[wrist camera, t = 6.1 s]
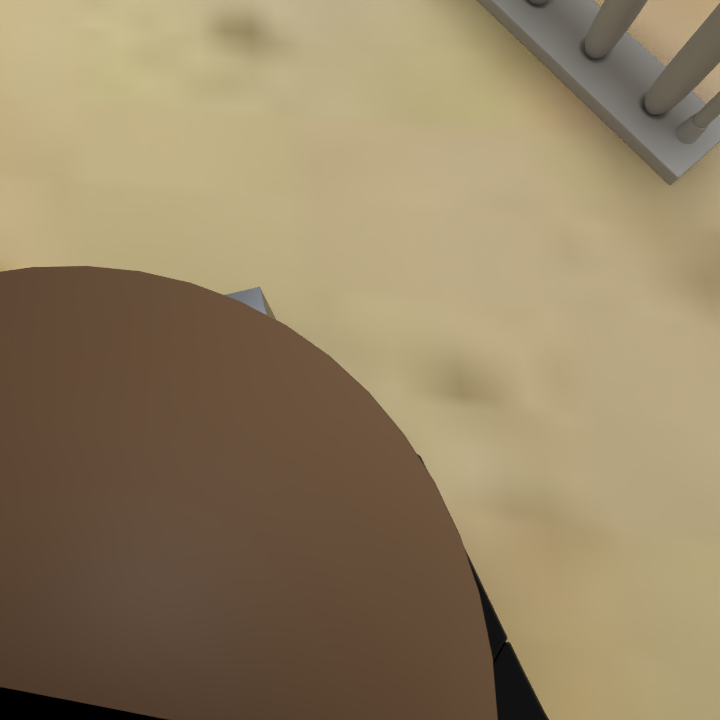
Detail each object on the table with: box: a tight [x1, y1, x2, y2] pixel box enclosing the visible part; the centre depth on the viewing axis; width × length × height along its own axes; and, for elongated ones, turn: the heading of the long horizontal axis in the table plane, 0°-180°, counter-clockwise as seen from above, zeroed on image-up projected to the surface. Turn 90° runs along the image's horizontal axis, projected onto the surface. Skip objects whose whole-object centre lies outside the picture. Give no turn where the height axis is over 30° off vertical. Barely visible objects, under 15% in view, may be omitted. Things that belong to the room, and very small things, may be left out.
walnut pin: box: [0, 266, 498, 720], centre depth 8 cm, size 4×4×13 cm
